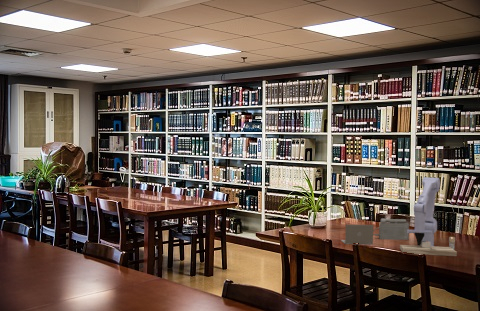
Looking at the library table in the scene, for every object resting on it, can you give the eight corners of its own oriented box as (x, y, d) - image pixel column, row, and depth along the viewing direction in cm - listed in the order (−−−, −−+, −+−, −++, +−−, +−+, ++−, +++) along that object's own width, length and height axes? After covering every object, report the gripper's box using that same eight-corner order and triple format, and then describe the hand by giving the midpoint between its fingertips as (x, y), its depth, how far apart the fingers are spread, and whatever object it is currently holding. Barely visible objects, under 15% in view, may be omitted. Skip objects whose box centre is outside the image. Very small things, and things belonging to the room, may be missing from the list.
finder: (420, 245, 313) (420, 240, 313) (428, 246, 313) (428, 240, 313) (422, 247, 308) (422, 242, 308) (430, 247, 308) (430, 242, 308)
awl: (448, 249, 317) (448, 236, 316) (453, 249, 316) (454, 237, 316) (449, 250, 313) (449, 237, 313) (455, 251, 313) (455, 238, 313)
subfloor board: (399, 249, 316) (400, 244, 315) (450, 251, 311) (450, 247, 311) (403, 253, 303) (403, 249, 303) (456, 256, 299) (456, 251, 298)
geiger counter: (407, 218, 351) (371, 217, 350) (410, 219, 344) (374, 219, 343) (406, 238, 351) (370, 238, 350) (410, 240, 345) (373, 239, 344)
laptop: (367, 241, 340) (367, 221, 340) (372, 245, 328) (373, 225, 328) (340, 241, 340) (341, 221, 339) (345, 244, 327) (345, 224, 327)
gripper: (408, 223, 308) (407, 246, 308) (433, 224, 306) (432, 247, 306) (406, 221, 315) (405, 243, 315) (430, 222, 313) (430, 244, 313)
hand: (418, 245), depth 311 cm, fingers closed
